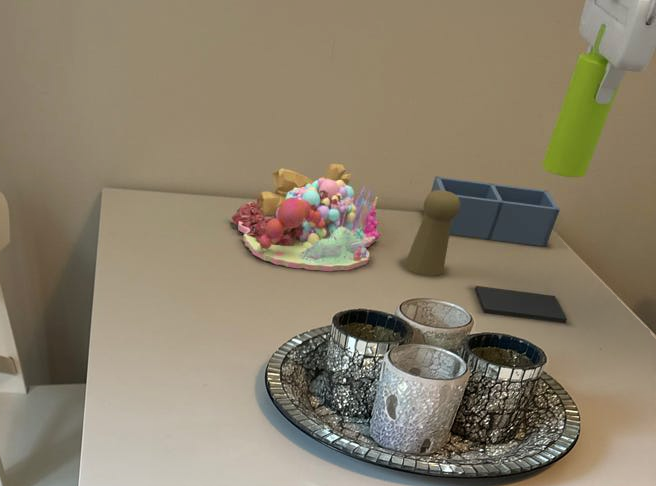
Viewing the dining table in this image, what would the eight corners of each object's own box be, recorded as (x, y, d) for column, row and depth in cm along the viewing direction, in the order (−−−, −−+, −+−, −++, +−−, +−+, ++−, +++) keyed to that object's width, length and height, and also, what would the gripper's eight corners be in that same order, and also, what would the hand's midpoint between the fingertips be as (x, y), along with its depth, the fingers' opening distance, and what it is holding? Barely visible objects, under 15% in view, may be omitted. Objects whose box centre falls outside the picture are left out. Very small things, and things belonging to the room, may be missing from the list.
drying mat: (553, 299, 137) (554, 295, 137) (565, 323, 131) (567, 319, 131) (474, 289, 137) (475, 285, 137) (483, 312, 131) (484, 308, 131)
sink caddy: (534, 226, 159) (547, 190, 155) (546, 246, 153) (559, 209, 149) (425, 212, 159) (435, 176, 155) (431, 232, 153) (442, 194, 148)
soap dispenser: (576, 182, 121) (643, 2, 107) (533, 165, 124) (593, -11, 110) (600, 175, 124) (669, -1, 110) (557, 159, 127) (619, -14, 113)
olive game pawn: (421, 256, 144) (441, 183, 137) (451, 271, 141) (474, 196, 133) (396, 263, 141) (416, 189, 133) (426, 278, 138) (448, 203, 130)
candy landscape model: (214, 208, 151) (222, 148, 144) (344, 209, 157) (357, 150, 150) (264, 272, 134) (275, 207, 127) (407, 270, 140) (425, 207, 133)
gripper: (696, -19, 101) (640, 120, 110) (643, -47, 115) (598, 78, 125) (639, -26, 101) (589, 114, 110) (593, -53, 115) (552, 72, 125)
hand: (593, 94), depth 118 cm, fingers closed on soap dispenser, 6 cm apart
